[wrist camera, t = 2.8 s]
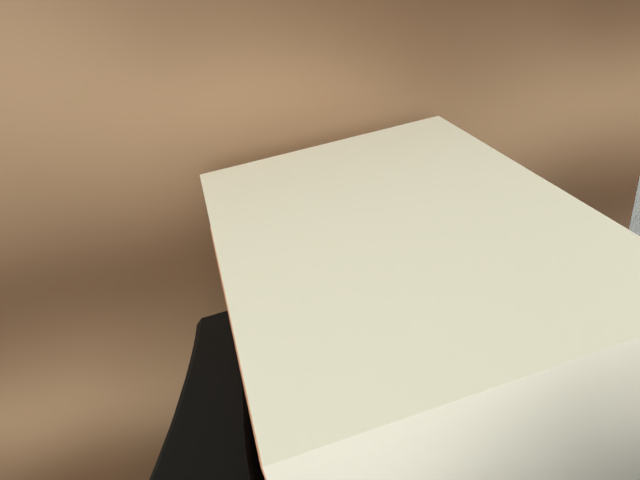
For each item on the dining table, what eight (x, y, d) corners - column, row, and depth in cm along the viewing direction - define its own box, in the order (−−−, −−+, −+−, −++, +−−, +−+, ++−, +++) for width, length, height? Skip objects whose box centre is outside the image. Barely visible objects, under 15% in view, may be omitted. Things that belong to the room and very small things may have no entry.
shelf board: (570, 333, 18) (651, 407, 15) (-233, 602, 14) (-332, 774, 11) (648, -177, 11) (834, -220, 8) (-1006, 83, 7) (-1898, 194, 4)
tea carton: (265, 408, 12) (347, 735, 7) (196, 175, 9) (255, 468, 4) (444, 350, 13) (633, 611, 8) (438, 115, 10) (746, 299, 5)
